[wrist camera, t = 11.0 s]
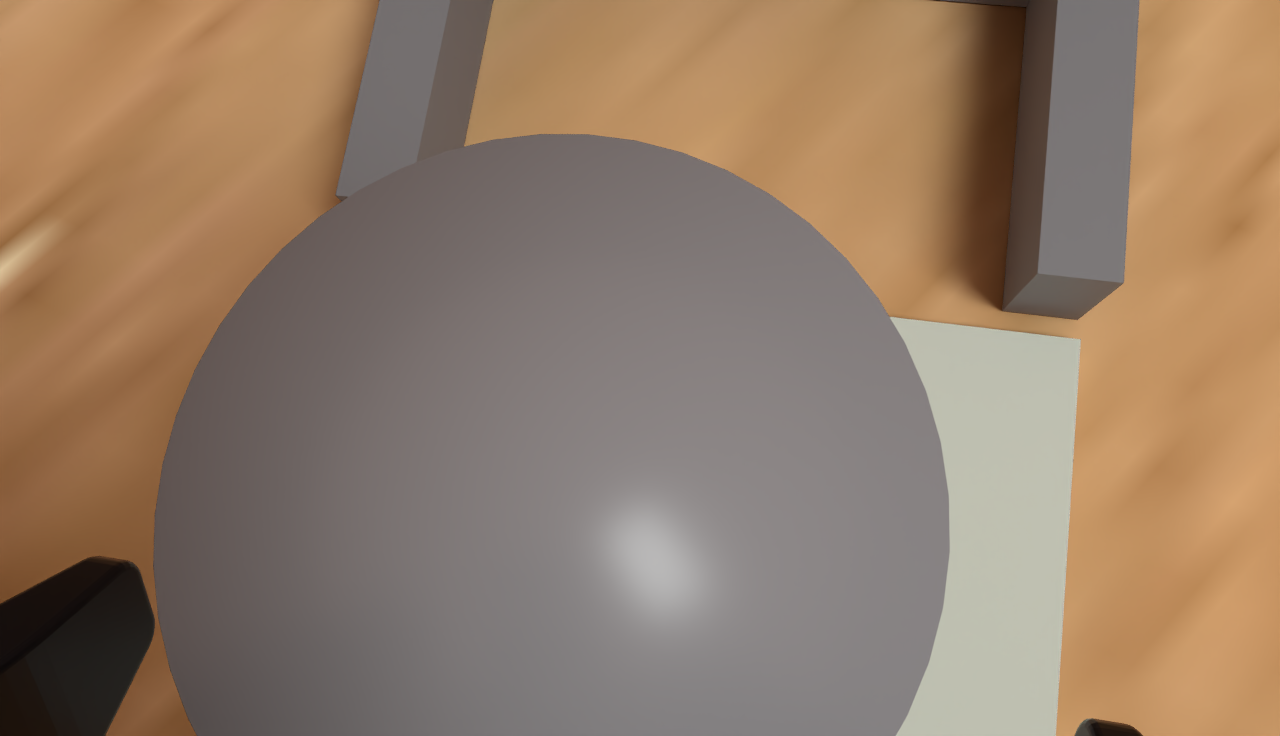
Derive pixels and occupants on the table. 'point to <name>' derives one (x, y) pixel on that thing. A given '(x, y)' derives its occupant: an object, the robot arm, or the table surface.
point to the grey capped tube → (553, 467)
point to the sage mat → (998, 525)
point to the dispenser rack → (1056, 3)
